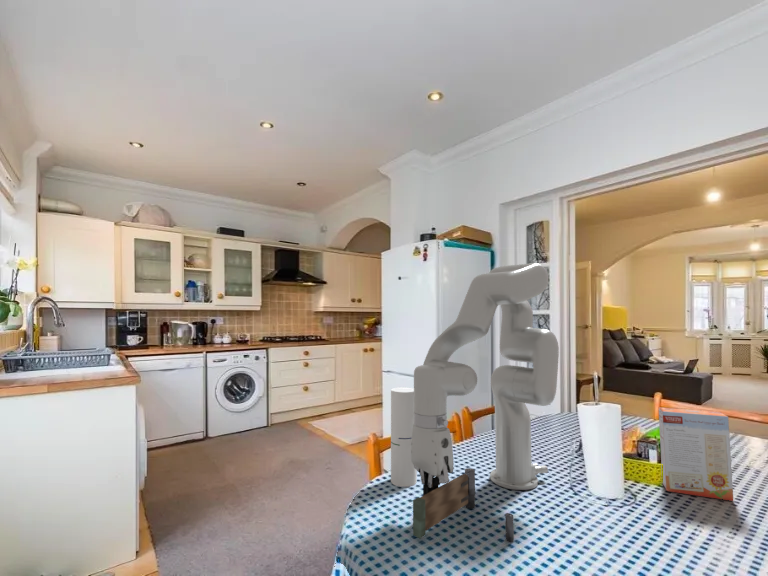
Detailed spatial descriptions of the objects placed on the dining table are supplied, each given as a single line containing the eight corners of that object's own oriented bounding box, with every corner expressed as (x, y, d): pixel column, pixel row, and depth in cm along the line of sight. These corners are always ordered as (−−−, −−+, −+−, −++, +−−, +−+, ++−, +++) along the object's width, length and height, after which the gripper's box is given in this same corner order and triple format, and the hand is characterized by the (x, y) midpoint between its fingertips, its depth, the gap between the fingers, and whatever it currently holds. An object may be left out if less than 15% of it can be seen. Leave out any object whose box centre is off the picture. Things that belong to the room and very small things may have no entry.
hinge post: (472, 503, 97) (472, 467, 97) (476, 508, 95) (476, 471, 95) (463, 504, 96) (463, 468, 97) (467, 509, 94) (467, 472, 95)
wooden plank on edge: (462, 503, 95) (462, 473, 95) (469, 505, 94) (469, 475, 94) (413, 535, 81) (413, 500, 82) (420, 538, 80) (419, 503, 80)
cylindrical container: (415, 488, 105) (414, 392, 107) (388, 485, 107) (388, 391, 108) (418, 477, 112) (417, 387, 114) (393, 475, 114) (393, 386, 115)
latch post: (511, 537, 82) (510, 512, 83) (515, 542, 81) (514, 516, 81) (504, 538, 82) (503, 513, 82) (508, 543, 80) (507, 517, 81)
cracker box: (725, 492, 103) (721, 411, 105) (734, 502, 98) (730, 416, 99) (661, 482, 109) (658, 405, 110) (665, 491, 104) (662, 410, 105)
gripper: (465, 425, 87) (466, 511, 86) (421, 411, 99) (422, 486, 98) (440, 431, 83) (441, 521, 82) (397, 415, 95) (397, 494, 94)
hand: (430, 502), depth 90 cm, fingers closed
